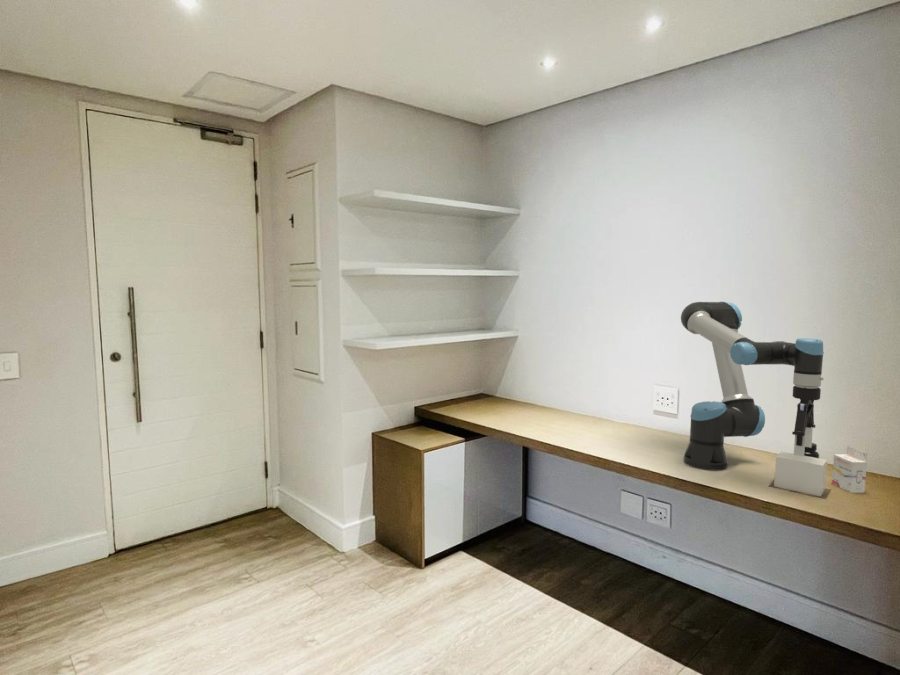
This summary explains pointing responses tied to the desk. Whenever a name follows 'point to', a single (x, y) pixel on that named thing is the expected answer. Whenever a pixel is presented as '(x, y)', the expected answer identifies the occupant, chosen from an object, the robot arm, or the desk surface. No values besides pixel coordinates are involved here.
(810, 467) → the block
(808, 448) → the supplement bottle
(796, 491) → the pin board
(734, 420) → the robot arm
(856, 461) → the ink cartridge box
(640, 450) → the desk surface
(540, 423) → the desk surface
